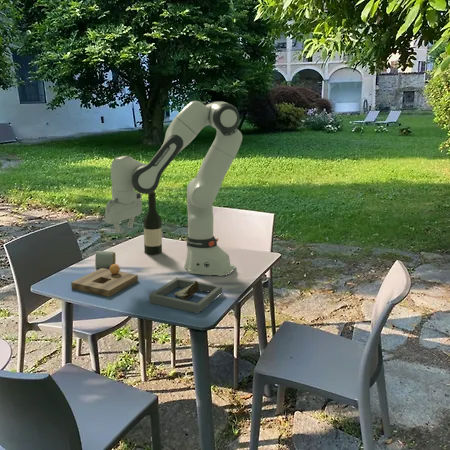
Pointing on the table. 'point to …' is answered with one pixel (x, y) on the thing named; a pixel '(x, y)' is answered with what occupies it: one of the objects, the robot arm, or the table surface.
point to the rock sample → (188, 291)
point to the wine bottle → (152, 228)
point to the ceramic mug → (104, 259)
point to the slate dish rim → (161, 299)
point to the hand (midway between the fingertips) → (124, 229)
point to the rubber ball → (114, 269)
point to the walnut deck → (111, 282)
